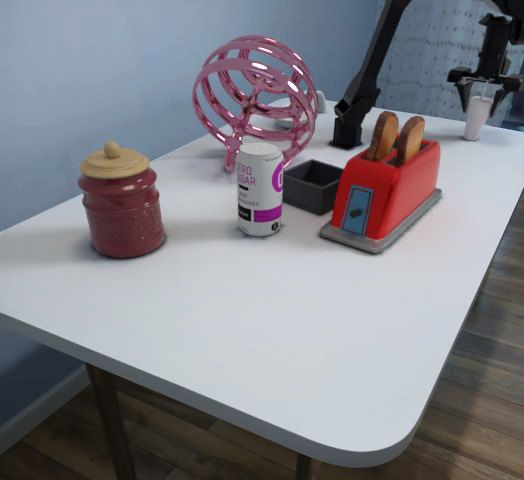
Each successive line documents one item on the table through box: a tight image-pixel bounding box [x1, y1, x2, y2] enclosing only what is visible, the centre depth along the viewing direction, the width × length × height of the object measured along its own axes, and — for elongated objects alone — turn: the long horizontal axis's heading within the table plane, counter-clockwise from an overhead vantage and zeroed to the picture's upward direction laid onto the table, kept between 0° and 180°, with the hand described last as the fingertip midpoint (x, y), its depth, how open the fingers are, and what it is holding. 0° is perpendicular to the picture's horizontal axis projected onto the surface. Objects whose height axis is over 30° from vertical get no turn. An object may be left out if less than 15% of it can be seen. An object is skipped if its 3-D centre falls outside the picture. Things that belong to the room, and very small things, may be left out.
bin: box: [282, 158, 344, 216], centre depth 103 cm, size 12×12×5 cm
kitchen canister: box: [77, 140, 165, 259], centre depth 84 cm, size 13×13×18 cm
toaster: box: [319, 110, 443, 254], centre depth 93 cm, size 32×13×19 cm, turn 144°
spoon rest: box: [274, 89, 327, 130], centre depth 143 cm, size 24×12×7 cm, turn 151°
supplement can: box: [235, 140, 284, 237], centre depth 89 cm, size 8×8×15 cm
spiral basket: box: [191, 34, 319, 172], centre depth 109 cm, size 28×28×27 cm
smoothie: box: [462, 81, 494, 141], centre depth 129 cm, size 6×6×14 cm
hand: (477, 115), depth 130 cm, fingers closed on smoothie, 7 cm apart
